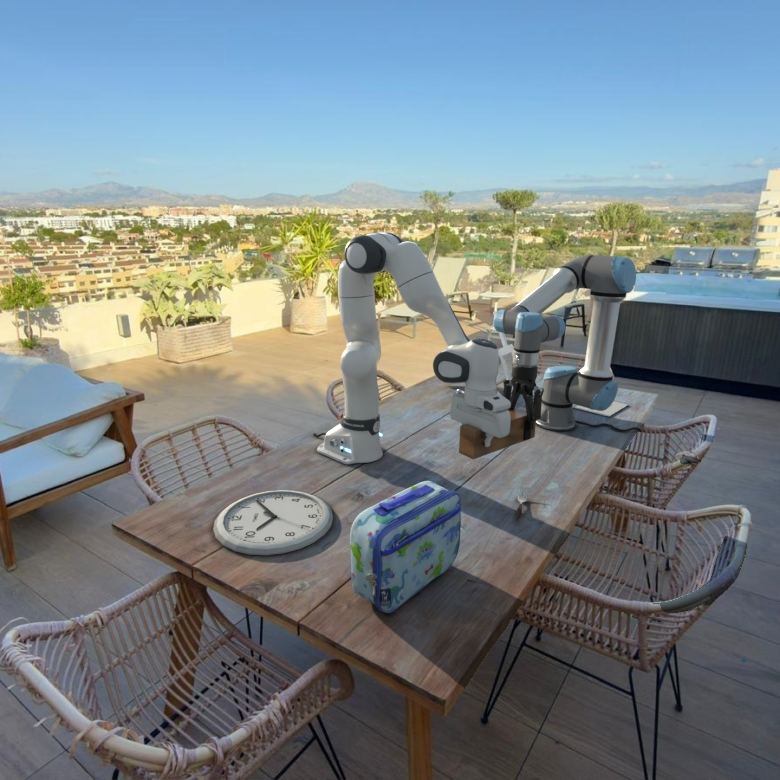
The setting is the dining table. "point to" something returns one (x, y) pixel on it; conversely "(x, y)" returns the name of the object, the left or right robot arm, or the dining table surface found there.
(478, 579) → the dining table surface
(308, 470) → the dining table surface
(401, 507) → the lunch box
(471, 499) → the dining table surface
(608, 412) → the invitation card
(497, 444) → the bar
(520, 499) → the fork
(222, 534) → the wall clock
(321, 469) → the dining table surface
